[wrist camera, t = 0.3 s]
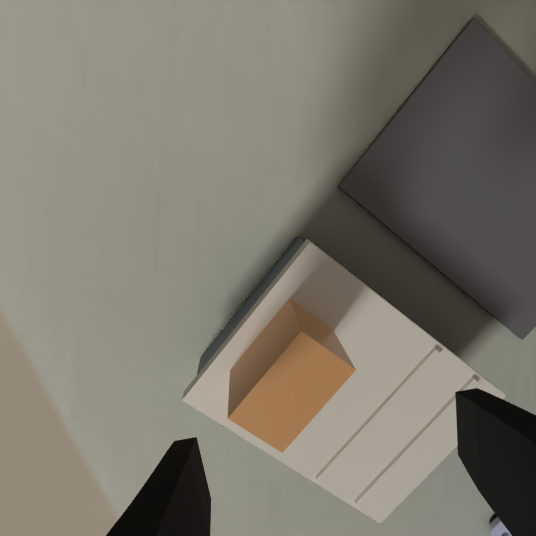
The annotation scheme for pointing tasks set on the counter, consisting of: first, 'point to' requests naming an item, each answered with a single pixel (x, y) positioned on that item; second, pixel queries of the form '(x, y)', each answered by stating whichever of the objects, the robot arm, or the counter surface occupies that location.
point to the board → (464, 176)
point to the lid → (337, 385)
